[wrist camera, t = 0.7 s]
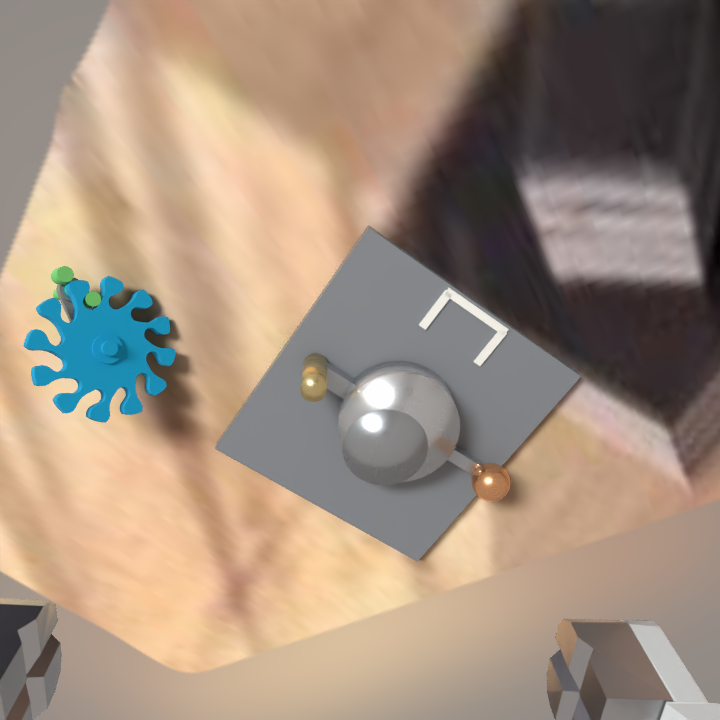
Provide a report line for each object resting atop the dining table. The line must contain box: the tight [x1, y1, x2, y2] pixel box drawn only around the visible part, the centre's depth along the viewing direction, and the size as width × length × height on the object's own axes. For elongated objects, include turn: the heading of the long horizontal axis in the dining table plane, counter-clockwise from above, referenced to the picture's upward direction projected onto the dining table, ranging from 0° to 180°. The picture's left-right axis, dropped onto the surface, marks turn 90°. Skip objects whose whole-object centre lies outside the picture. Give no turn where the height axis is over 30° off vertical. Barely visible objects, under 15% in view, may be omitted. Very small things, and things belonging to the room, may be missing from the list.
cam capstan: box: [300, 353, 510, 502], centre depth 48 cm, size 10×19×5 cm, turn 55°
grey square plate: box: [215, 225, 581, 562], centre depth 50 cm, size 21×20×1 cm
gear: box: [24, 266, 176, 422], centre depth 45 cm, size 11×6×10 cm
